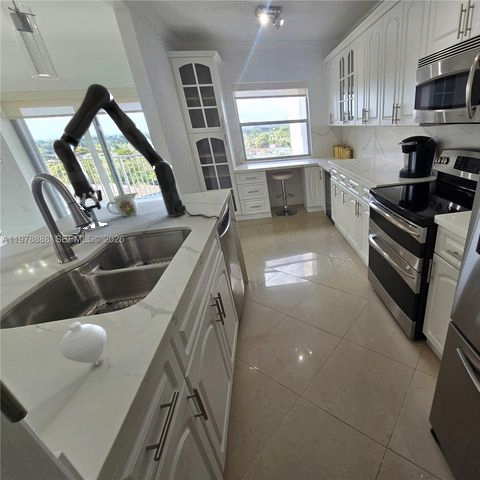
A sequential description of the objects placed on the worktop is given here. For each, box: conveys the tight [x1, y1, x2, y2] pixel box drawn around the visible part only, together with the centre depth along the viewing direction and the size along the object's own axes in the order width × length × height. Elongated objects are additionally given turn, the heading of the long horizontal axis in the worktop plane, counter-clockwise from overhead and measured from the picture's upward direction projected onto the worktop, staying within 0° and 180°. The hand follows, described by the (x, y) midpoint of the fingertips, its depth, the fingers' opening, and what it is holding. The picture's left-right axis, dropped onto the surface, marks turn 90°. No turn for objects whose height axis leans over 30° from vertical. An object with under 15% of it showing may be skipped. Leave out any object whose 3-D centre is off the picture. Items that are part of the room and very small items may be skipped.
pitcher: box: [106, 192, 139, 217], centre depth 164 cm, size 11×18×14 cm, turn 126°
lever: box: [86, 204, 98, 212], centre depth 143 cm, size 12×5×2 cm, turn 61°
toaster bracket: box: [85, 208, 107, 231], centre depth 148 cm, size 12×9×12 cm
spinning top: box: [59, 321, 107, 366], centre depth 57 cm, size 8×8×12 cm
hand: (93, 210), depth 141 cm, fingers closed on lever, 5 cm apart
